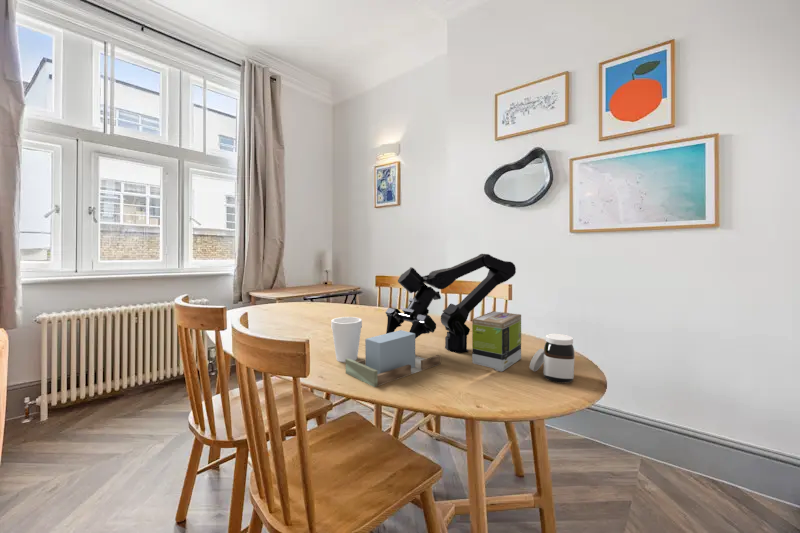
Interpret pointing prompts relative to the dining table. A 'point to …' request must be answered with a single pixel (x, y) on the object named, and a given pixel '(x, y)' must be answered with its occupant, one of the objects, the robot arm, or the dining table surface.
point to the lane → (374, 379)
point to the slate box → (390, 351)
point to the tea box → (496, 340)
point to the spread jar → (556, 358)
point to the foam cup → (346, 337)
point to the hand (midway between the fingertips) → (396, 341)
